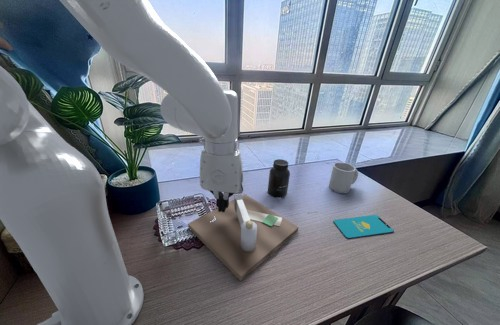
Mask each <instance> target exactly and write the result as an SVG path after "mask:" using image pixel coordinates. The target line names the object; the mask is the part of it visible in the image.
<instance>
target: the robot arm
mask: <svg viewBox="0 0 500 325" xmlns="http://www.w3.org/2000/svg"><path fill="white" fill-rule="evenodd" d="M59 2H60V3H61V4H62V5H63V6H64V7H65V9H67V10H68V12H69V13H70V14H71V15H72V16H73V17H74V18H75V19H76V20H77V21H78V22H79V24H80V25H81V26H82V27H83V28H84V29H85V30H86V31H87V32H88V34H90V36H91V37H92V38H93V39H94V40H95V41H96V42H97V43H98V44H99V46H100V47H101V48H102V49H103V50H104V51H105V53H106V54H107V55H109V56H110V57H111V58H112V59H114V60H115V61H117V62H118V63H120V64H121V65H122V66H124V67H125V68H127V69H129V70H130V71H132V72H134V73H136V74H138V75H140V76H142V77H144V78H145V79H147V80H149V81H151V82H152V83H154V84H155V85H157V86H158V87H159V88H161V89H162V90H163V91H165V92H166V95H165V96H164V97H163V99H162V100H161V103H160V114H161V117H162V119H163V120H164V121H165V122H166V123H167V124H168V125H169V126H170V127H172V128H174V129H178V130H181V131H182V132H187V133H190V134H192V135H195V136H198V137H201V138H199V139H198V145H202V146H203V149H202V150H201V152H200V159H199V186H200V188H201V189H203V190H205V191H209V192H210V193H211V194H212V195H213V197H214V199H215V201H216V203H215V204H216V207H217V208H218V212H221V211H222V212H225V210H226V208H228V206H229V202H230V198H231V197H232V196H233V195H242V194H243V191H244V186H243V182H244V174H243V171H244V170H243V161H242V159H243V158H242V154H241V150H240V149H239V148H238V131H239V130H238V128H239V127H238V122H239V119H238V118H239V116H238V115H239V113H238V112H239V106H238V105H239V101H238V100H239V99H238V93H237V92H235V91H234V90H232V89H229V88H223V87H222V86H221V84H220V82H219V79H218V78H217V76H216V75H215V73H214V72H213V70H212V69H211V68H210V67H209V66H208V64H207V63H206V61H204V59H202V57H201V56H199V55H198V53H196V52H195V51H194V50H193V49H192V48H191V47H190V46H189V45H188V44H187V43H186V42H185V41H184V40H183V39H182V38H180V36H178V34H177V33H175V32H174V31H173V30H172V29H171V28H170V27H168V26H167V25H166V24H165V23H164V22H163V21H162V19H161V18H160V16H159V14H157V12H156V10H155V9H154V8H153V7H154V6H152V4H151V2H150V1H149V0H59ZM106 196H107V195H106V190H105V186H104V181H103V179H102V177H101V174H100V172H99V171H98V170H97V168H96V166H95V165H94V164H93V162H91V161H90V160H89V159H88V158H87V157H86V156H85V155H84V154H83V153H82V152H81V151H79V150H78V149H76V147H74V146H72V145H71V144H70V143H68V142H67V141H66V140H65V139H64V138H63V137H62V136H61V135H60V134H59V133H58V132H57V131H56V130H55V129H54V127H53V126H52V125H51V124H50V123H49V122H48V121H47V120H46V119H45V118H44V117H43V116H42V115H41V113H40V112H39V111H38V110H37V109H36V108H35V107H34V105H33V104H32V103H31V102H30V101H29V99H28V98H27V95H26V93H25V92H24V90H23V88H22V86H21V85H20V83H18V81H17V80H16V79H15V78H14V76H13V75H11V73H10V72H8V70H6V69H5V68H3V67H2V66H1V65H0V221H1V222H2V224H3V226H4V227H5V228H6V230H7V231H8V232H9V234H10V235H11V237H13V239H14V240H15V242H16V243H17V245H18V246H19V248H20V249H21V251H22V253H23V254H24V256H25V258H26V259H27V261H28V262H29V264H30V266H31V267H32V268H33V271H34V272H35V273H36V274H37V276H38V278H39V280H40V282H41V283H42V285H43V286H44V288H45V290H46V291H47V293H48V294H49V297H50V298H51V300H52V301H53V303H54V305H55V306H56V308H57V311H55V312H53V313H52V314H51V316H50V317H49V318H47V319H45V320H44V321H42V322H39V323H37V324H36V325H132V324H134V322H135V320H136V319H137V317H138V316H139V315H140V312H141V310H142V307H143V303H144V296H145V293H144V289H143V286H142V283H141V282H140V281H139V279H138V278H136V277H134V276H132V275H129V274H128V271H127V268H126V264H125V262H124V258H123V256H122V251H121V249H120V245H119V243H118V240H117V237H116V234H115V231H114V228H113V224H112V221H111V218H110V214H109V209H108V205H107V198H106Z"/></svg>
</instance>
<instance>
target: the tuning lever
mask: <svg viewBox="0 0 500 325" xmlns="http://www.w3.org/2000/svg"><path fill="white" fill-rule="evenodd" d="M233 195H234V197H233V198H234V199H233V200H234V208H235V212H237V215H238V219H239V222H240V225H241V248H242V250H244V251H246V252H251V251H253V250H254V249H255V248H256V236H257V224H256V223H255V222H253V221H250V218H249V215H248V213H247V210H246V207H245V205H244V202H243V197H242V195H243V194H233Z"/></svg>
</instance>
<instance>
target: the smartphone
mask: <svg viewBox="0 0 500 325" xmlns="http://www.w3.org/2000/svg"><path fill="white" fill-rule="evenodd" d="M332 222H333V224H334V225H335V227H336V228H337V229H338V230H339V232H340V233H341V234H342V235H343V236H344V238H345V239H347V240H350V239H359V238H364V237H365V238H366V237H373V236H379V235H381V236H382V235H386V234H392V233H394V232H395V231H394V229H393V228H392V227H391V226H390V225H388V223H386V222H385V221H384V220H383V219H382V218H381V217H380V216H378V215H377V214H372V215H371V214H370V215H365V216H364V215H363V216H356V217H348V218H339V219H334V220H333V221H332Z"/></svg>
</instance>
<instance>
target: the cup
mask: <svg viewBox="0 0 500 325" xmlns="http://www.w3.org/2000/svg"><path fill="white" fill-rule="evenodd" d="M332 166H333V167H332V170H331V174H330V178H329V182H328V187H329V189H331V190H332V191H333V192H336V193H338V194H346V193H349V191H350V189H351V186H352V185H353V184H355V182H357V179H358V176H359V172H358V169H357V168H356V167H355V166H354V165H353V164H351V163H348V162H343V161H342V162H341V161H337V162H334V164H333V165H332Z"/></svg>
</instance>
